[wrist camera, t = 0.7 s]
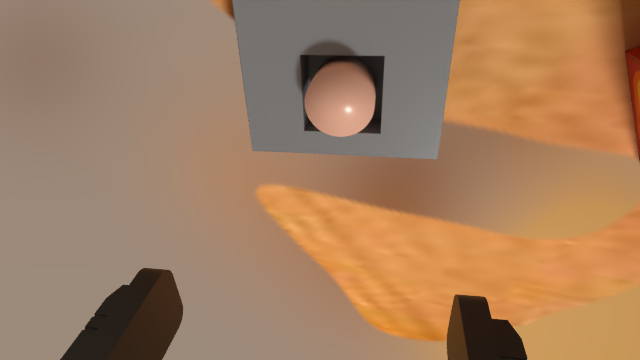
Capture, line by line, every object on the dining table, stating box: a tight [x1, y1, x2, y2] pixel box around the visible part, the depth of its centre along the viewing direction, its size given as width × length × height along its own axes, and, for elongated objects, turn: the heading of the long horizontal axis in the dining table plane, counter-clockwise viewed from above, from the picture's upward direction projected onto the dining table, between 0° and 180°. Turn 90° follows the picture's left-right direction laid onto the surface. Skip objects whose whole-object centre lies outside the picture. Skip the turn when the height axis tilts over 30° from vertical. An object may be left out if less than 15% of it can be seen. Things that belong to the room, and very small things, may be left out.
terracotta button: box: [305, 56, 376, 137], centre depth 24 cm, size 4×4×3 cm
